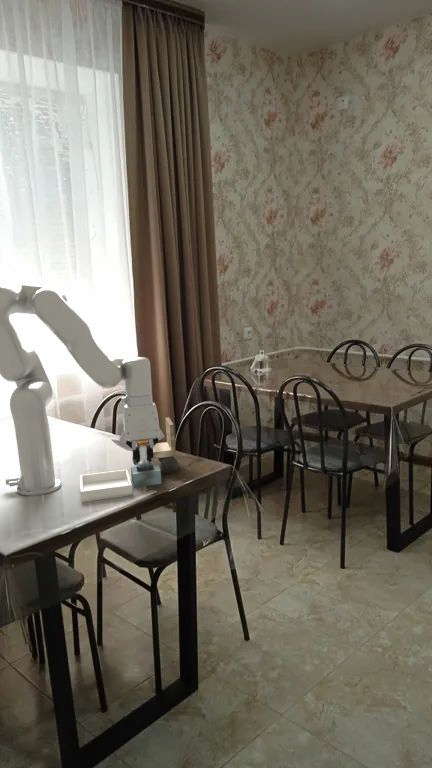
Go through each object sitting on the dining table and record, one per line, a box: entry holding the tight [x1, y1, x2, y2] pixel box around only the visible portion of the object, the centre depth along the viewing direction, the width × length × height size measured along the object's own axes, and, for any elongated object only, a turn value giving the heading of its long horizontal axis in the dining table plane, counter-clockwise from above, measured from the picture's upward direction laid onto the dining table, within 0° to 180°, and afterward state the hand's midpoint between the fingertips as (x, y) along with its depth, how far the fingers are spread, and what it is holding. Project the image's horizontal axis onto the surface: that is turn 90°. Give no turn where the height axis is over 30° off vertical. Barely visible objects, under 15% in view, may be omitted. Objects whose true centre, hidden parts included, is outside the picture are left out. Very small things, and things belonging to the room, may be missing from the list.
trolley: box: [130, 417, 179, 488], centre depth 191 cm, size 14×19×15 cm
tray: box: [79, 469, 133, 503], centre depth 181 cm, size 14×14×3 cm
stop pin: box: [136, 439, 150, 472], centre depth 186 cm, size 4×4×12 cm
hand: (143, 460), depth 186 cm, fingers closed on stop pin, 3 cm apart
